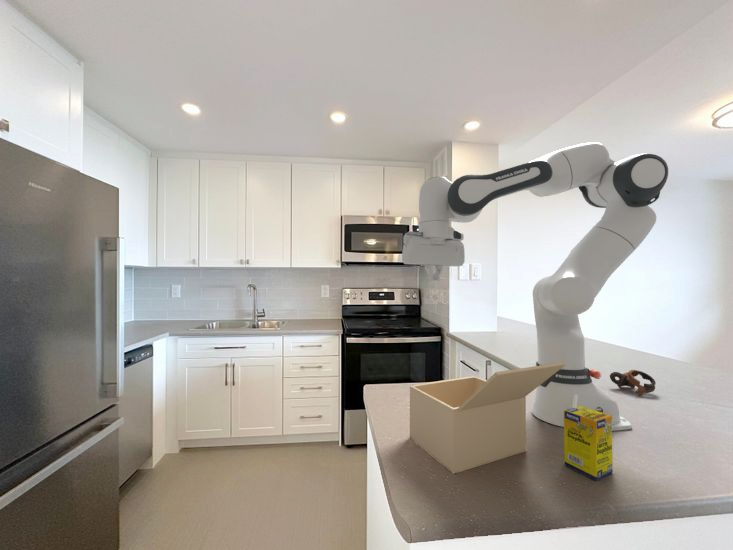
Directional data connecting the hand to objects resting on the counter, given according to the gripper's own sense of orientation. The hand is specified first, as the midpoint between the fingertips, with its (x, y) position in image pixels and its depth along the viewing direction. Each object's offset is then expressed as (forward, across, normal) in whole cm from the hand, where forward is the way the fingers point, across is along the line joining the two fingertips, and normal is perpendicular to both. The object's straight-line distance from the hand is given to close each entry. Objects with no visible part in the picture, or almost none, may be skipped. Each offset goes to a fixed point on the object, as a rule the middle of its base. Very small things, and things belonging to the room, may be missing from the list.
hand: (434, 280), depth 89 cm
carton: (+37, -5, -18) cm, 42 cm away
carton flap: (+21, -5, -30) cm, 37 cm away
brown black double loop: (+38, +74, -14) cm, 84 cm away
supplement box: (+37, +10, -35) cm, 52 cm away
